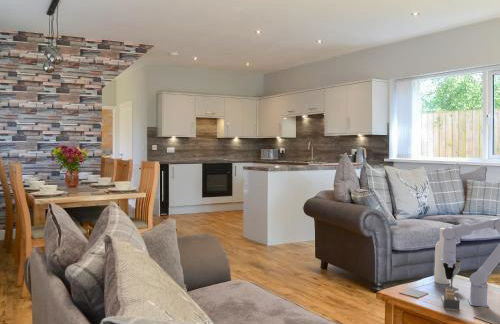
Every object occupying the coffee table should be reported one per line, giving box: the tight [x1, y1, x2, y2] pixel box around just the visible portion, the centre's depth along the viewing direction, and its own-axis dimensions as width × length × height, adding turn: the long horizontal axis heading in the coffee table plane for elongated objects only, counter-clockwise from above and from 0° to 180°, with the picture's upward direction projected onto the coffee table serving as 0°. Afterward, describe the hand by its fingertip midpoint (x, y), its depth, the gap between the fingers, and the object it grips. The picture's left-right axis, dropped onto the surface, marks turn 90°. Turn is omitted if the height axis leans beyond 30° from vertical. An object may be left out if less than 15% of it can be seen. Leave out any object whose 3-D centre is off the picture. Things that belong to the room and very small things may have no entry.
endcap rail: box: [441, 295, 460, 312], centre depth 222 cm, size 16×6×5 cm, turn 162°
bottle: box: [433, 227, 451, 285], centre depth 258 cm, size 8×8×30 cm
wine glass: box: [443, 259, 462, 292], centre depth 247 cm, size 8×8×15 cm
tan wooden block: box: [444, 289, 456, 300], centre depth 223 cm, size 9×3×5 cm, turn 162°
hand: (448, 278), depth 232 cm, fingers closed
